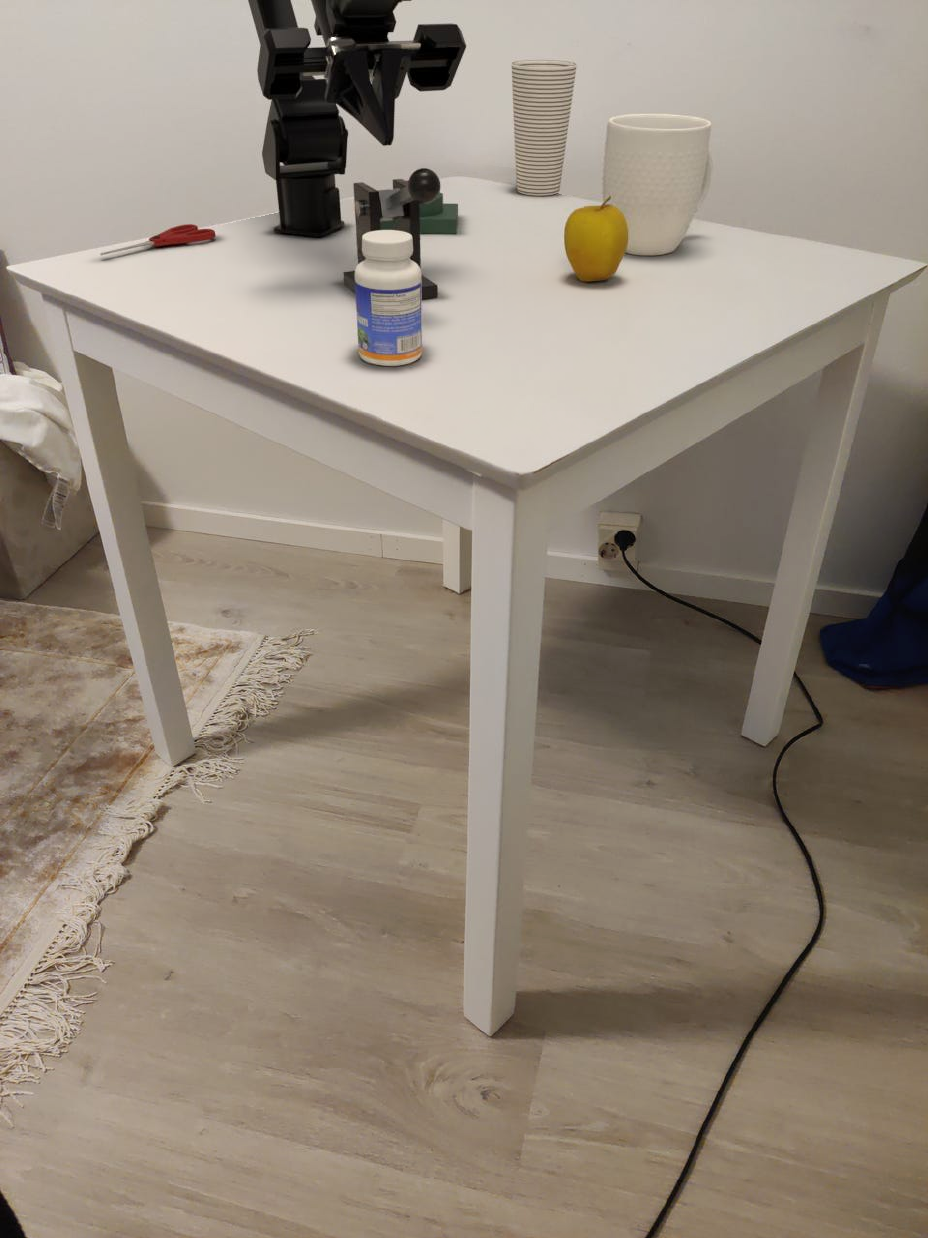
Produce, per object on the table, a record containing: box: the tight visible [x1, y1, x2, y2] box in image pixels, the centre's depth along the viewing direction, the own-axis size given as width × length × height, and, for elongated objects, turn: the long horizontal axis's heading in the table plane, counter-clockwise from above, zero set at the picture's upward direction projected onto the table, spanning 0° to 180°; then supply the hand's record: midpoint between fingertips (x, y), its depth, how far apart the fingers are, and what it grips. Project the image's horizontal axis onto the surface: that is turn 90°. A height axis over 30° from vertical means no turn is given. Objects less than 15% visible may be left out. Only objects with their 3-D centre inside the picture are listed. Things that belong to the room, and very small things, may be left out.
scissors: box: [99, 223, 216, 256], centre depth 108 cm, size 5×14×1 cm, turn 140°
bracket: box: [342, 178, 439, 300], centre depth 92 cm, size 8×7×10 cm
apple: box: [563, 196, 628, 282], centre depth 96 cm, size 6×6×8 cm
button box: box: [380, 191, 459, 235], centre depth 116 cm, size 10×8×4 cm
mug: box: [602, 113, 713, 257], centre depth 106 cm, size 15×11×13 cm
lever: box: [378, 167, 442, 221], centre depth 86 cm, size 13×3×3 cm, turn 25°
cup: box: [511, 59, 578, 197], centre depth 128 cm, size 8×8×16 cm
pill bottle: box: [354, 230, 423, 367], centre depth 78 cm, size 5×5×10 cm
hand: (388, 142), depth 86 cm, fingers closed
